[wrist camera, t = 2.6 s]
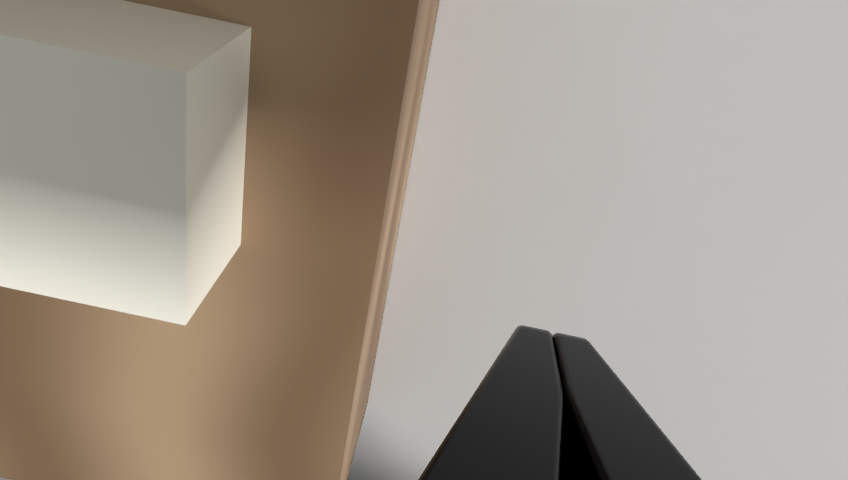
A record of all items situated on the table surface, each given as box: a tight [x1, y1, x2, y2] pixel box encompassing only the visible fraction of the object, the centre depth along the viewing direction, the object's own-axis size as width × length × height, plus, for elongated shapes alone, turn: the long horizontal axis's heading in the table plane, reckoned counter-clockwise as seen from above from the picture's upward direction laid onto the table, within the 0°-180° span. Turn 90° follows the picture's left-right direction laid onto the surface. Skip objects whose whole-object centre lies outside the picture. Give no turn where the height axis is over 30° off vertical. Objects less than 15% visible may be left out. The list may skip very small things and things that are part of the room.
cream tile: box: [0, 0, 251, 326], centre depth 11 cm, size 4×4×2 cm
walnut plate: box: [0, 0, 439, 480], centre depth 14 cm, size 15×20×5 cm
